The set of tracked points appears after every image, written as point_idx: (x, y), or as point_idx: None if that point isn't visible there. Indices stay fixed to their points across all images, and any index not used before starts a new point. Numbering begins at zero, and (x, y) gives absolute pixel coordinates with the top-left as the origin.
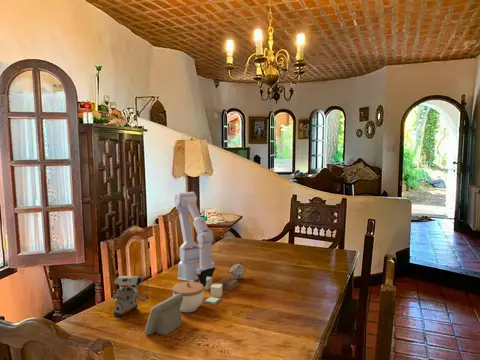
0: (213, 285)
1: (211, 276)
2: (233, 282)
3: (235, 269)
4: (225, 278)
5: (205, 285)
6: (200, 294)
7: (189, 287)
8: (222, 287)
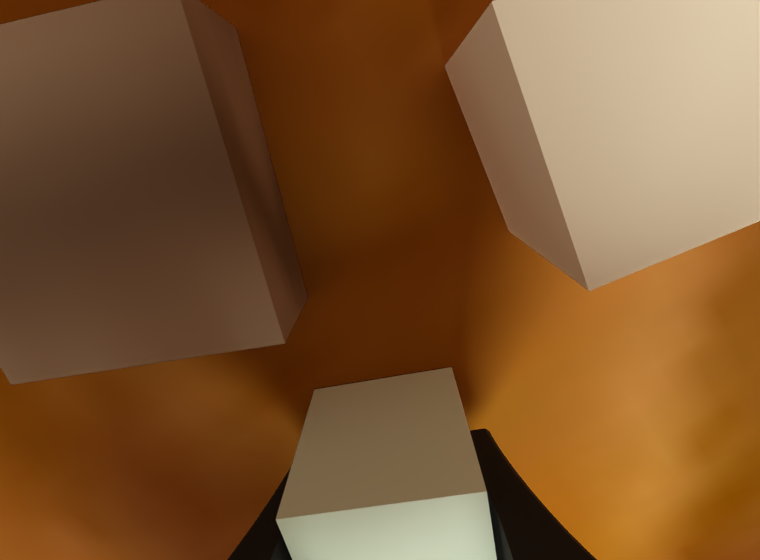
0: (737, 173)
1: (263, 549)
2: (3, 36)
3: None
4: (14, 351)
5: None
6: None
7: None
8: (475, 30)
